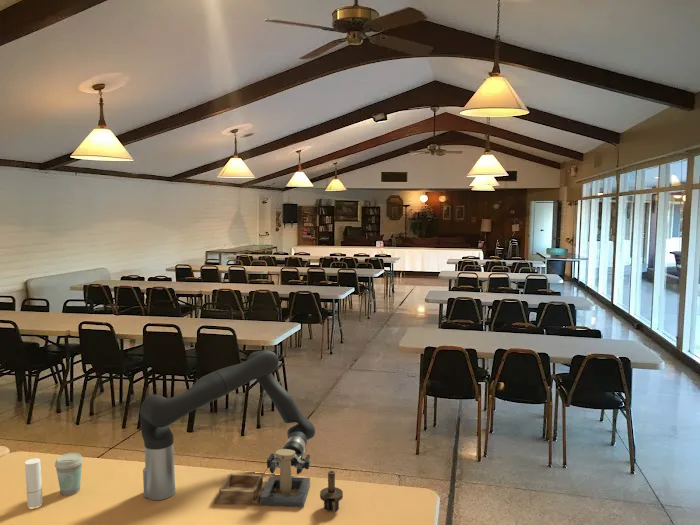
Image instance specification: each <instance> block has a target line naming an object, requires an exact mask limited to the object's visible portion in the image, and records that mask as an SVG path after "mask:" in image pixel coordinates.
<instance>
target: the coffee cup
mask: <svg viewBox="0 0 700 525" xmlns="http://www.w3.org/2000/svg"><path fill="white" fill-rule="evenodd" d="M54 462H55V463H54V467H55V468H56V475H57V481H58V486H59V492H60V494H63V495H62V496H64V495H70V496H73V495H72V494H74V495H76V494H77V492H78V491H79V490H81V480H82V468H83V466H82V465H83V462H84V460H83V457H82V455H81V454H80V453H78V452H68V453H65V454H62V455H59V456H58V457H57V458H56V460H55V461H54ZM79 492H80V491H79ZM79 492H78V493H79ZM75 493H76V494H75Z"/></svg>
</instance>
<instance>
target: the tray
mask: <svg viewBox="0 0 700 525" xmlns="http://www.w3.org/2000/svg"><path fill="white" fill-rule="evenodd" d="M266 483H267V481H264V478H263V474H254V473H253V474H252V473H251V474H250V473H249V474H248V473H230V474H228V475H227V476H226V477H225V480H224V481H223V482H222V484H221V486H220V487H219V488H218V489H219V490H218V491H219V492H218V494H217V496H216V498H215V499H214V504H216V505H239V506H258V505H259V504H260V496H261V494H262V492H263V490H264V488H265V485H266Z"/></svg>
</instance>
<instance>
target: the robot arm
mask: <svg viewBox="0 0 700 525" xmlns="http://www.w3.org/2000/svg"><path fill="white" fill-rule="evenodd" d="M277 355H278V354H276V353H275V352H274V351H271V350H269V349H268V350H267V349H264V350H258V351H253V352H251V353H250V354H249V356H248V357H247V359H246V360H245V361H243V362H241V363H238V364H234V365H229V366H227V367H223V368H220V369H217V370H215V371H212V372H210V373H208V374H206V375H204V376H202V377H200V378H199V379H197V380H196V382H194V383H193V384H192V386H191V387H190V388H188V390H186V391H184V392H182V393H180V394H178V395H175V396H172V397H170V398H167V397H164V396H162V395H161V394H151V395H148V396H147V397H146V398H145V399H144V400H143V402H142V403H141V406H140V409H139V410H140V414H139V416H140V417H139V418H140V430H141V436H142V440H143V441H144V442H143V443H144V464H145V466H144V467H143V469H142V480H143V483H142V484H143V486H142V487H143V497H144V498H147V499H149V500H151V501H161V500H166V499H169V498H170V497H172V496H174V494H175V493H176V479H175V478H176V475H175V472H176V471H175V470H176V469H175V448H174V446H175V445H174V442H175V441H174V434H173V432H172V430H171V428H170V425H171V424H173V423H175V422H177V421H178V420H180V419H181V418H183V417H184V416H186V415H188V414H190V413H191V412H193V411H195V410H197V409H200V408H201V407H203V406H206V405H207V404H210V403H213V401H216V400H219V399H220V398H222V397H224V396H227V395H228V394H230V393H232V392H234V391H236V390H237V389H239V388H241V387H242V386H244V385H246V384H248V383H251V381H255V380H256V381H257V382H258V383H259V385H260V386H261V387H262V389H263V390H264V391H265V393H266V394H267V395H268V397H269V399H270V400H271V402H272V403H273V405H274V406H275V408H276V410H277V411H278V414H279V416H280V417H281V419H282V421H283V422H284V423H285V424H292V423H293V424H294V423H297V424H295V425H292V426H290V428H288V430H287V431H286V432H287V433H286V434H287V440H286V441H285V443H284V445H283V448H282V449H290V450H293V451H295V457H294V458H292V459H291V467H295V469H296V475H300V474H301V473H302V472H303V470H304V469H305V470H309V469H310V463H311V455H310V454H307V455H305V450H306V446H307V443H308V440H310V439H313V438H314V437H315V435H316V428H315V425H313V422H311V420H309V419H308V418H307V416H305V415H304V413H302V411H301V410H300V409H299V406H298V405H297V404H296V402H295V400H294V399H293V397H292V395H291V394H290V393H289V392H288V391H287V390H286V388H284V387H283V386H282V385H281V384H280V383H279V382H278V381H277V379H276V378H275V377H274V374H273V373H274V372H276V369H277V368H278V366H279V358H278V356H277ZM304 455H305V456H304ZM280 464H281V462H280V459H279V458H277V457H276V455H275V453H271V454H269V457H268V458H267V460H266V466H267V467H266V468H268V469H269V472H270V474H274V473H275V471H276V469H280Z"/></svg>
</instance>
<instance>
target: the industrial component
mask: <svg viewBox="0 0 700 525" xmlns="http://www.w3.org/2000/svg"><path fill="white" fill-rule="evenodd" d="M335 485H336V472H335V471H334V470H329V471H328V472H327V487H324V488H322V489H321V490H320V491H319V498H320V500H321V501H323V509H324V510H325V511H326V512H330V511H332V513H336V511H339V509H340V501H342V500H343V497H344V491H343V490H342V489H341V488H339V487H336V486H335Z"/></svg>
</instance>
